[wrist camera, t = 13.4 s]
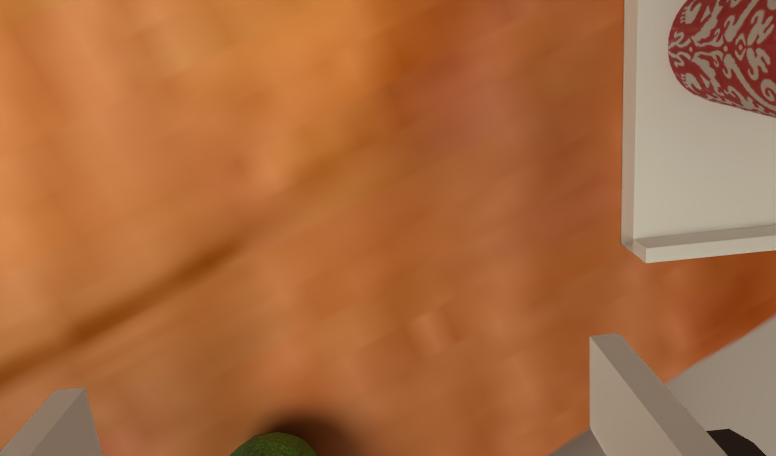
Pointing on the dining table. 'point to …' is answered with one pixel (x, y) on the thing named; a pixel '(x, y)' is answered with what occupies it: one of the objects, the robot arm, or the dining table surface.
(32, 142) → the dining table surface
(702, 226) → the shelf
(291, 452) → the avocado
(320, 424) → the dining table surface
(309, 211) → the dining table surface
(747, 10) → the mug
